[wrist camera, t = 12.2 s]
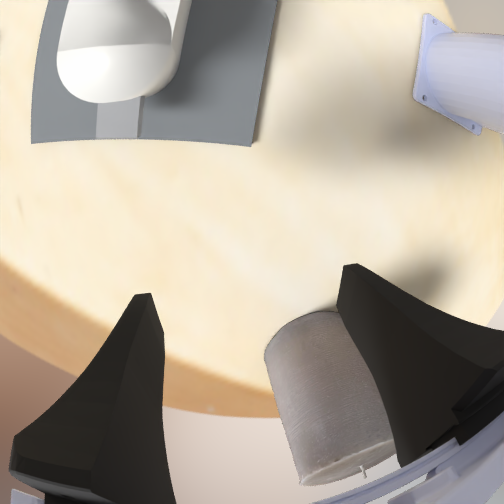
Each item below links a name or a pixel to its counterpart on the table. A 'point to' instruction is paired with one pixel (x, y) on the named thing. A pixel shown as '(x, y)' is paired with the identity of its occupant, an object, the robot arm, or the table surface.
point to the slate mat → (181, 86)
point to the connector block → (120, 57)
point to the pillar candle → (327, 400)
